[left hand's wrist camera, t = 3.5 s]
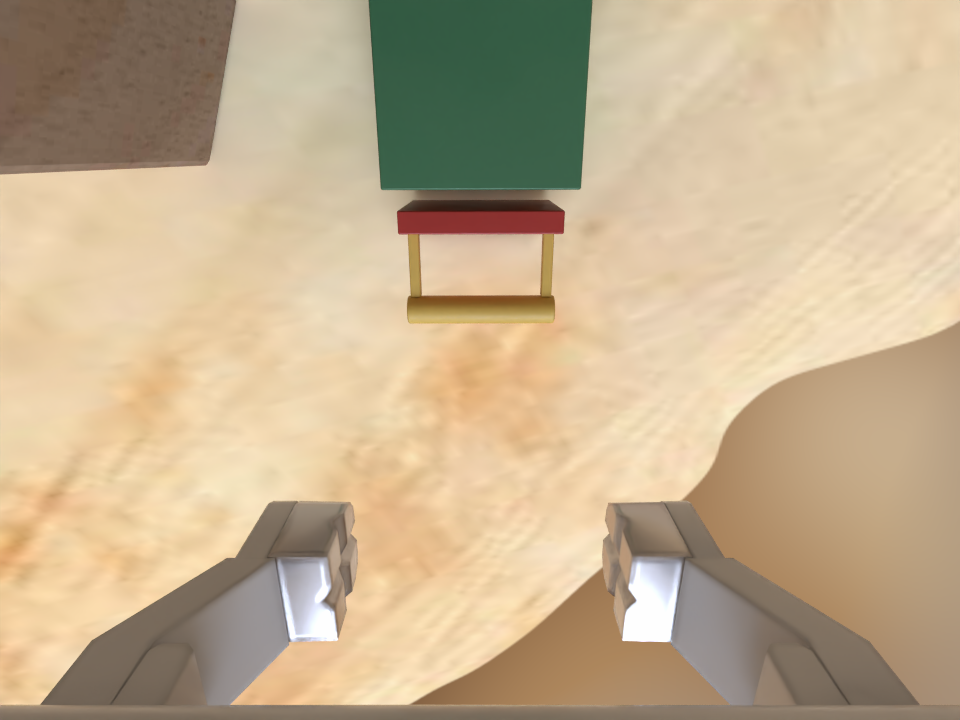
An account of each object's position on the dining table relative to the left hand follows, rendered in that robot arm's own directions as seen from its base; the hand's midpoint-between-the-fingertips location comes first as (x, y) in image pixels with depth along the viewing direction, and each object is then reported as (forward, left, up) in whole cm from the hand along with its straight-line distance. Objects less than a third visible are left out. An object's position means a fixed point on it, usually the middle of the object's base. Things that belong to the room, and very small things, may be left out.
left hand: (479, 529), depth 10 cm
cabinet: (-4, +11, -28) cm, 31 cm away
